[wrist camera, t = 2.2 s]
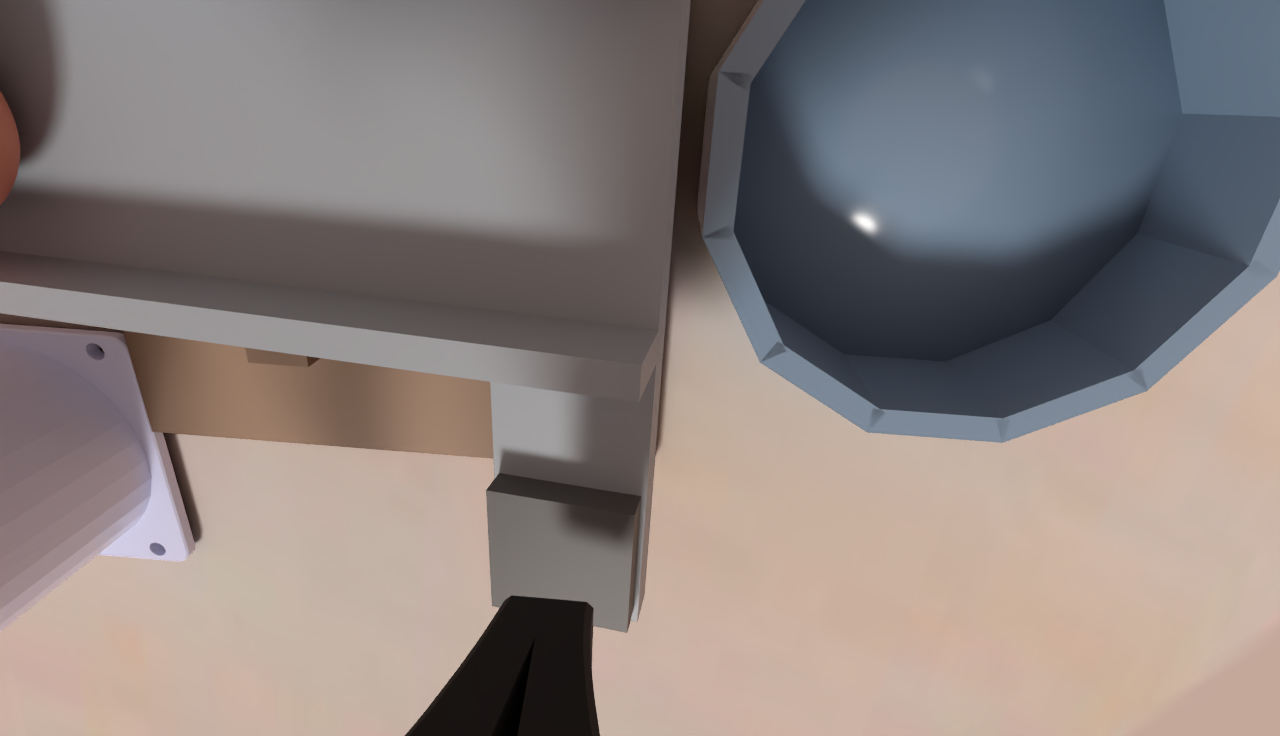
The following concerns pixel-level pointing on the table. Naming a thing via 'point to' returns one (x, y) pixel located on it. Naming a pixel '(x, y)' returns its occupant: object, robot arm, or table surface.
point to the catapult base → (307, 399)
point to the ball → (8, 149)
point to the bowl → (991, 199)
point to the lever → (381, 219)
